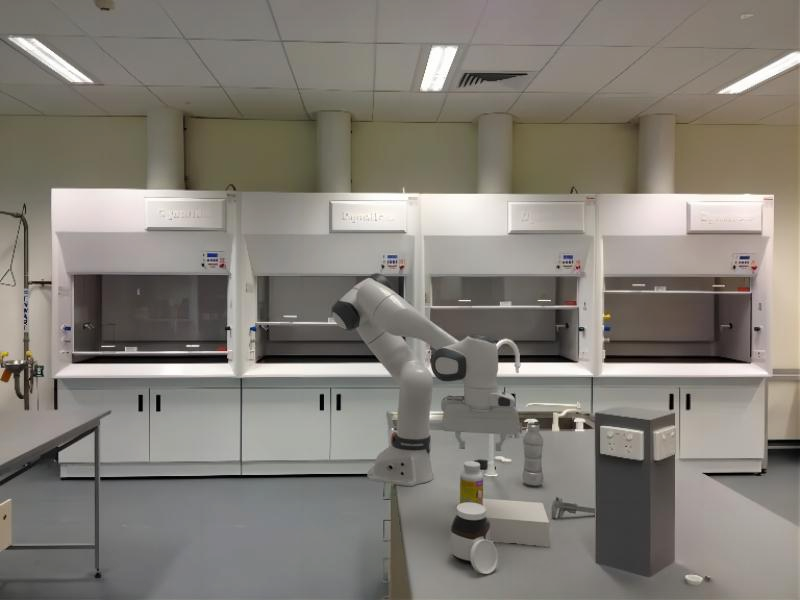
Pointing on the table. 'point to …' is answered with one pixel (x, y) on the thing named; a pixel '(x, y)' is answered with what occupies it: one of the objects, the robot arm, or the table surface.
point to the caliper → (568, 508)
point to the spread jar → (473, 538)
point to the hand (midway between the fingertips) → (480, 449)
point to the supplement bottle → (471, 482)
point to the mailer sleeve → (517, 522)
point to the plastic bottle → (533, 456)
